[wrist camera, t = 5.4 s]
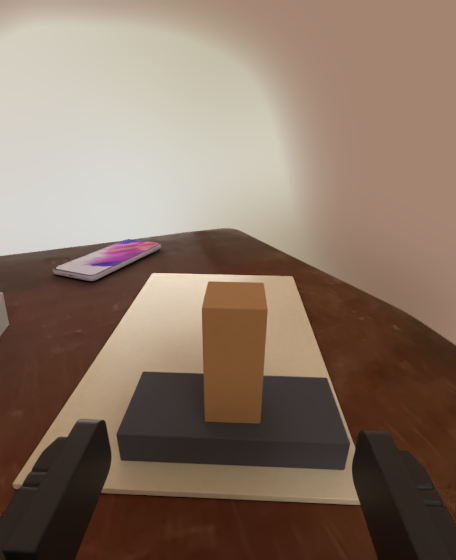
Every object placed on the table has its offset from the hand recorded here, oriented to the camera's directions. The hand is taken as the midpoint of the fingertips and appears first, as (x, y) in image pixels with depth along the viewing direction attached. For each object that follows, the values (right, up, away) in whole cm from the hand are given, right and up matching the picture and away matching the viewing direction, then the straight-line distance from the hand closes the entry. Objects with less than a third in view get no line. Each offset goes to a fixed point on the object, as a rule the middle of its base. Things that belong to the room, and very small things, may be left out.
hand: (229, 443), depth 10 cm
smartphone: (-17, +8, +37) cm, 41 cm away
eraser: (0, -4, +9) cm, 10 cm away
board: (-1, 0, +19) cm, 19 cm away
